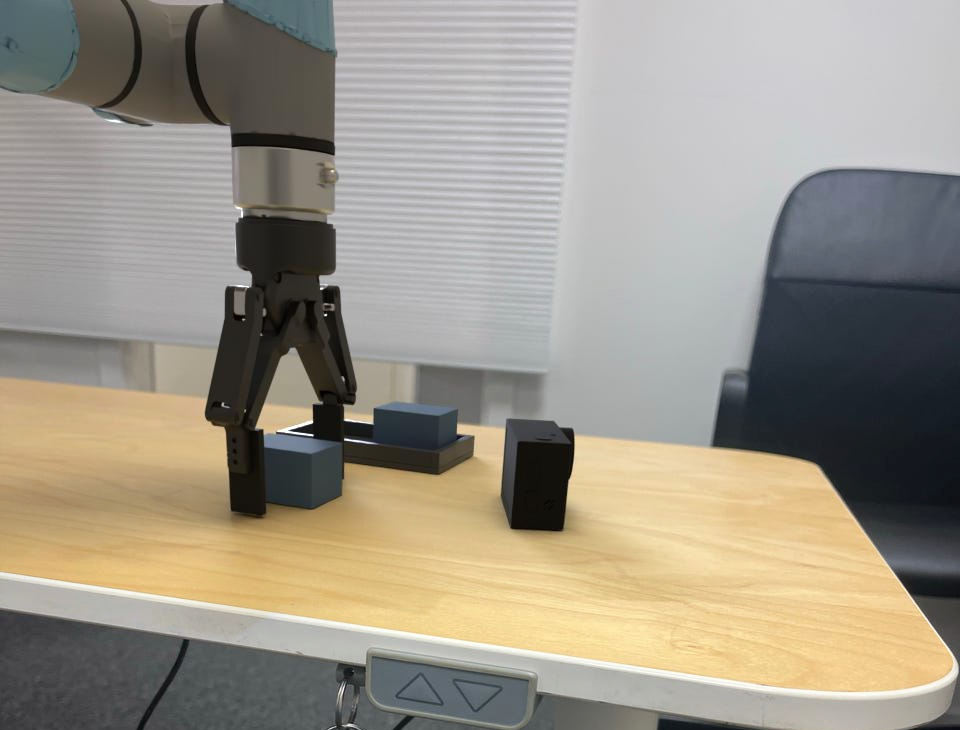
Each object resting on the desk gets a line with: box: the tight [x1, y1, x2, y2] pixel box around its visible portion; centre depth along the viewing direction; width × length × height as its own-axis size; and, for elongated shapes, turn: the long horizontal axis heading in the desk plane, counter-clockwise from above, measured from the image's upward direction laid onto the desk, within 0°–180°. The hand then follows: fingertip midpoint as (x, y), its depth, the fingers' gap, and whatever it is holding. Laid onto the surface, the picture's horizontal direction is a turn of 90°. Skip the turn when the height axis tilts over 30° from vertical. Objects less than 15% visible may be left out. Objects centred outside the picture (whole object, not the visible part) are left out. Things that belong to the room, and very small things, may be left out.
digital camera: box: [500, 417, 576, 531], centre depth 76 cm, size 10×5×7 cm, turn 3°
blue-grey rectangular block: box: [264, 432, 343, 510], centre depth 77 cm, size 7×6×4 cm
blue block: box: [372, 400, 459, 451], centre depth 93 cm, size 7×6×4 cm
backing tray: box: [275, 418, 476, 475], centre depth 95 cm, size 18×11×2 cm, turn 72°
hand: (291, 494), depth 77 cm, fingers open, 13 cm apart
